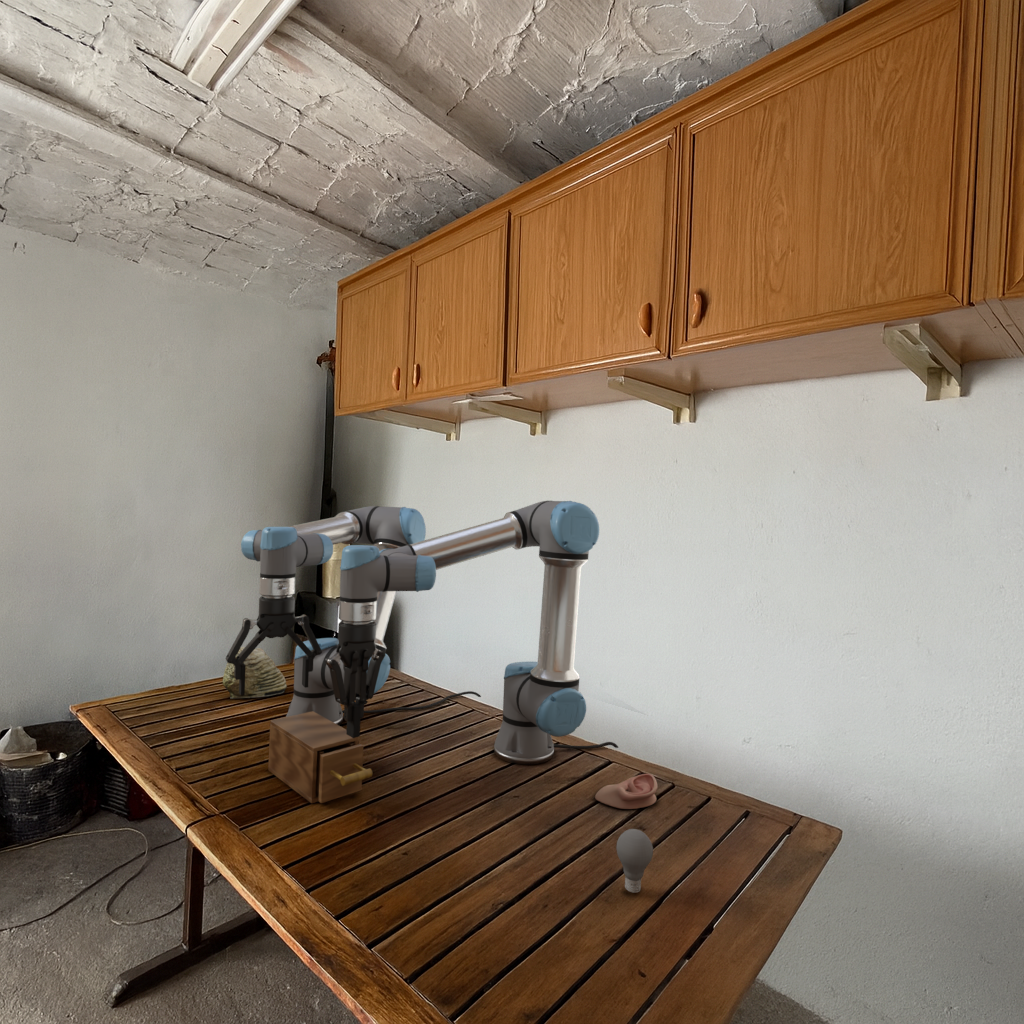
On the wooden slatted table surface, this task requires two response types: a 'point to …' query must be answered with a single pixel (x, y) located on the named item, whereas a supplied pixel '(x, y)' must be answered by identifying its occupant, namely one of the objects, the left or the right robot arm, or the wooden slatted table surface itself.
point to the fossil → (255, 676)
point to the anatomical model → (630, 793)
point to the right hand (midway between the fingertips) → (353, 735)
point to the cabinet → (302, 749)
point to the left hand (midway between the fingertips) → (274, 689)
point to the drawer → (340, 771)
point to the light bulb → (634, 857)
